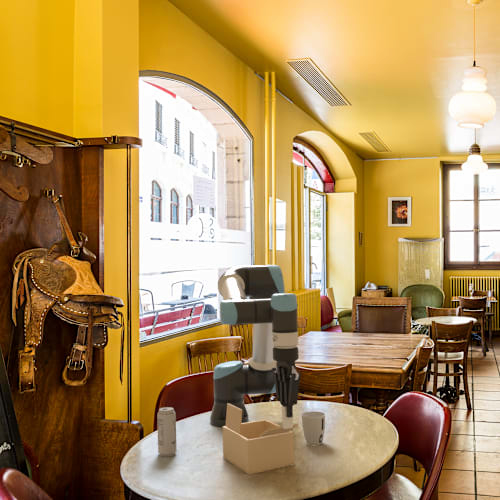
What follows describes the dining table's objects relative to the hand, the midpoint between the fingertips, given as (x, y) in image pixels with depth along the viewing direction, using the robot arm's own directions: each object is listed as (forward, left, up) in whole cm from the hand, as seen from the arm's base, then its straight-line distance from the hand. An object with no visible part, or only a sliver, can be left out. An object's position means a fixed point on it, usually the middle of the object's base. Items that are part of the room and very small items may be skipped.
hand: (287, 427), depth 174 cm
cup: (-24, +24, -15) cm, 37 cm away
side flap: (-20, -8, 0) cm, 21 cm away
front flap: (-6, 0, -2) cm, 6 cm away
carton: (-18, -1, -15) cm, 23 cm away
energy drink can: (-39, -23, -15) cm, 48 cm away
